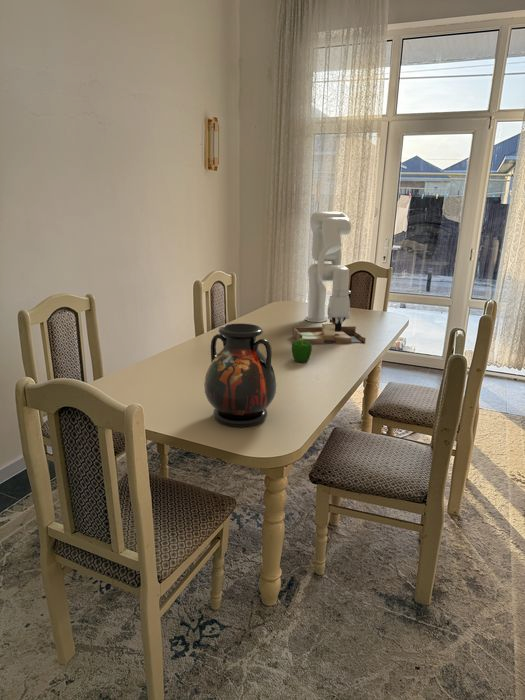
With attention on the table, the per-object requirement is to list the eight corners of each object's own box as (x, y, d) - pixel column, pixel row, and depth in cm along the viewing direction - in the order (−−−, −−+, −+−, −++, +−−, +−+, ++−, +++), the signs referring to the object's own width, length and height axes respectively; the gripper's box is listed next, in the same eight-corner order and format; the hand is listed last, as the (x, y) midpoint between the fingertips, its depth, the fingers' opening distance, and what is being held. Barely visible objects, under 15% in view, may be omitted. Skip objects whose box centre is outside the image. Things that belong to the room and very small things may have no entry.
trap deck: (292, 336, 244) (292, 327, 242) (354, 334, 249) (355, 326, 248) (299, 344, 229) (300, 335, 228) (365, 342, 235) (365, 333, 233)
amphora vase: (191, 425, 144) (189, 332, 136) (223, 399, 164) (222, 317, 156) (260, 438, 137) (262, 341, 129) (284, 409, 156) (287, 323, 149)
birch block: (321, 332, 241) (322, 322, 240) (331, 332, 242) (331, 322, 241) (324, 335, 237) (325, 325, 235) (334, 335, 237) (335, 325, 236)
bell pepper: (299, 356, 211) (300, 334, 209) (314, 361, 206) (315, 337, 203) (286, 360, 206) (287, 337, 203) (301, 365, 200) (302, 341, 197)
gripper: (352, 292, 240) (349, 328, 245) (322, 292, 237) (320, 329, 242) (357, 294, 233) (355, 332, 238) (327, 295, 230) (325, 333, 235)
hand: (337, 330), depth 240 cm, fingers closed
